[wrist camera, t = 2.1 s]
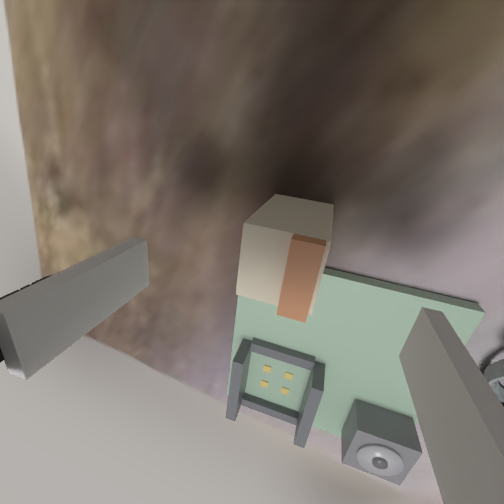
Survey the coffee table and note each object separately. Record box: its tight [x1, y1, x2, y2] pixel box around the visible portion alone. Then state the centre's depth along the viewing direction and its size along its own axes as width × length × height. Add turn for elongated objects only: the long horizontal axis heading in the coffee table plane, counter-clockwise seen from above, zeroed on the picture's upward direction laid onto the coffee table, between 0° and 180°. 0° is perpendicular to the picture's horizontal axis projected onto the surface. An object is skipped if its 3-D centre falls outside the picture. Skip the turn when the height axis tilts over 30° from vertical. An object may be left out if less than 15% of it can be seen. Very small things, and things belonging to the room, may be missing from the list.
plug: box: [236, 194, 334, 323], centre depth 17 cm, size 4×4×9 cm
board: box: [227, 268, 485, 437], centre depth 25 cm, size 18×18×1 cm
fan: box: [341, 399, 422, 485], centre depth 24 cm, size 5×5×4 cm
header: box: [226, 337, 325, 448], centre depth 25 cm, size 9×8×3 cm
